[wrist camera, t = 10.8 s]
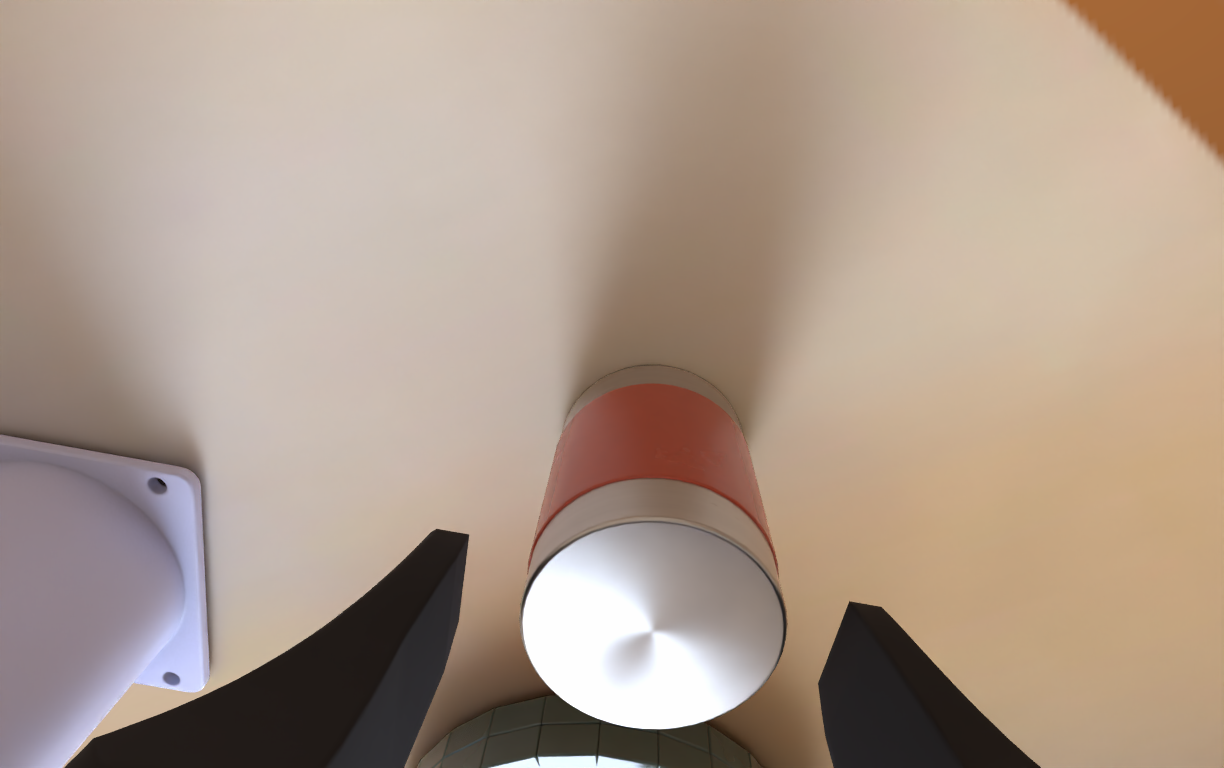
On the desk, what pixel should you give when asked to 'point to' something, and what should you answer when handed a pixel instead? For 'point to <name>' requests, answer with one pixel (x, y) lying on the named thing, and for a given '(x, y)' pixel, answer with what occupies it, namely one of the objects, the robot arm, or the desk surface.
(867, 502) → the desk surface
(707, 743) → the dish
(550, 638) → the can
